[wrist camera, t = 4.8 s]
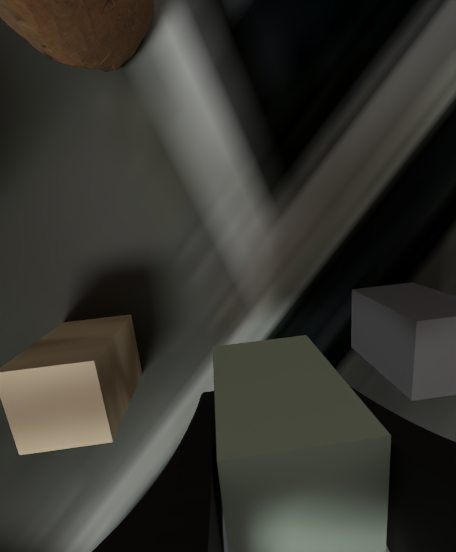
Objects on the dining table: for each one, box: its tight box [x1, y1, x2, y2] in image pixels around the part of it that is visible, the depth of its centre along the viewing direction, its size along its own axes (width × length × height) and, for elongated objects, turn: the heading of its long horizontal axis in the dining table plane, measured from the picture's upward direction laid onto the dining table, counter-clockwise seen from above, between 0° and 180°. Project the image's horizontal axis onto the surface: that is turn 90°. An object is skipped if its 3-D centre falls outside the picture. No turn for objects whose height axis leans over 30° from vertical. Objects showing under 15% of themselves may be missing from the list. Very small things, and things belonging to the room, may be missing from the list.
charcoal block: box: [351, 282, 456, 401], centre depth 16 cm, size 4×4×6 cm
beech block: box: [0, 315, 142, 455], centre depth 15 cm, size 4×4×6 cm
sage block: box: [213, 335, 391, 552], centre depth 10 cm, size 4×4×6 cm
